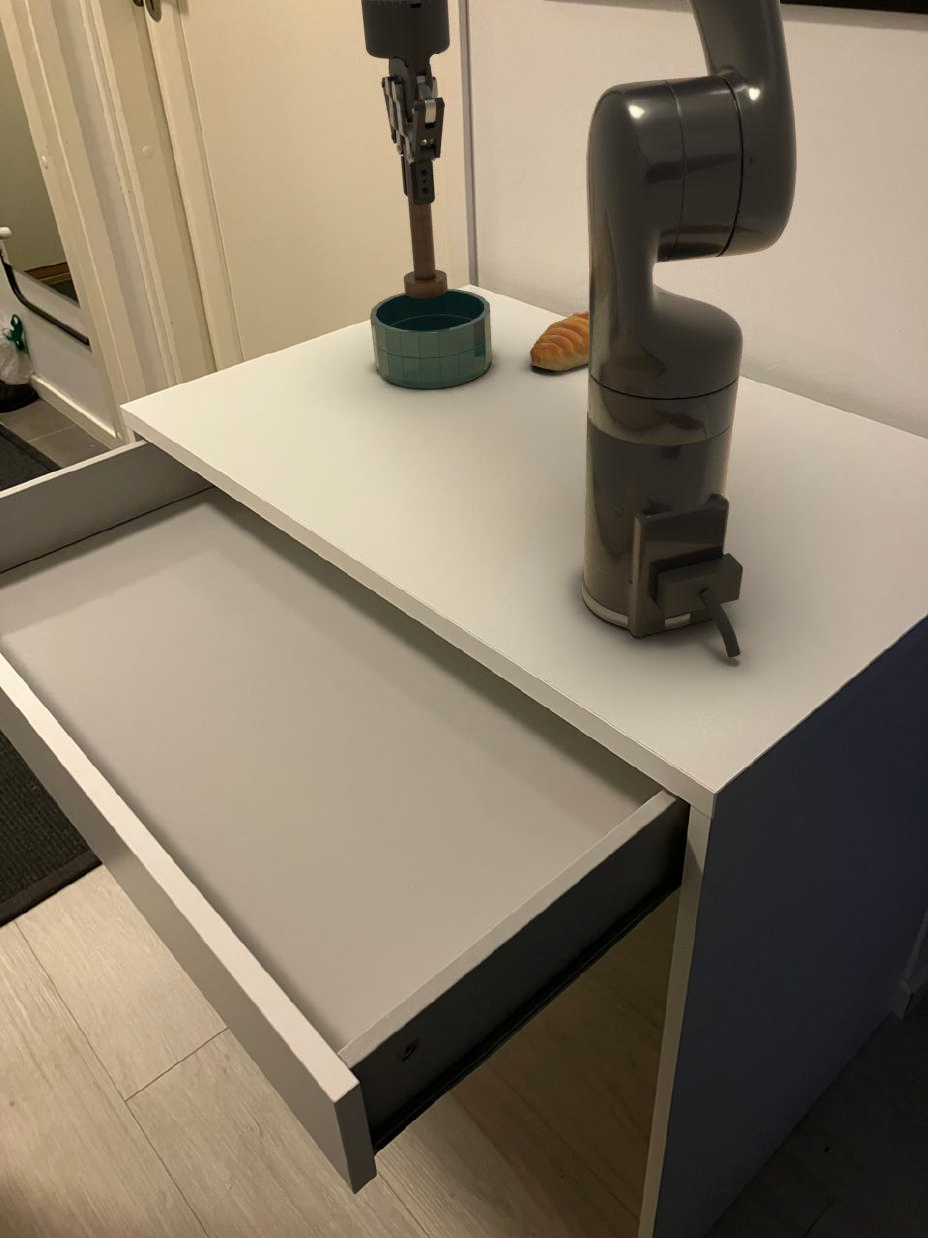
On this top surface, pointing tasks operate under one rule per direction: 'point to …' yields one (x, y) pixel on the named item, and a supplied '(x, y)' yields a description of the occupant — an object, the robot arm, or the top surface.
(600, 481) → the robot arm
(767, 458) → the top surface
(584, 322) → the pastry
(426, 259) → the stick
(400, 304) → the bowl
